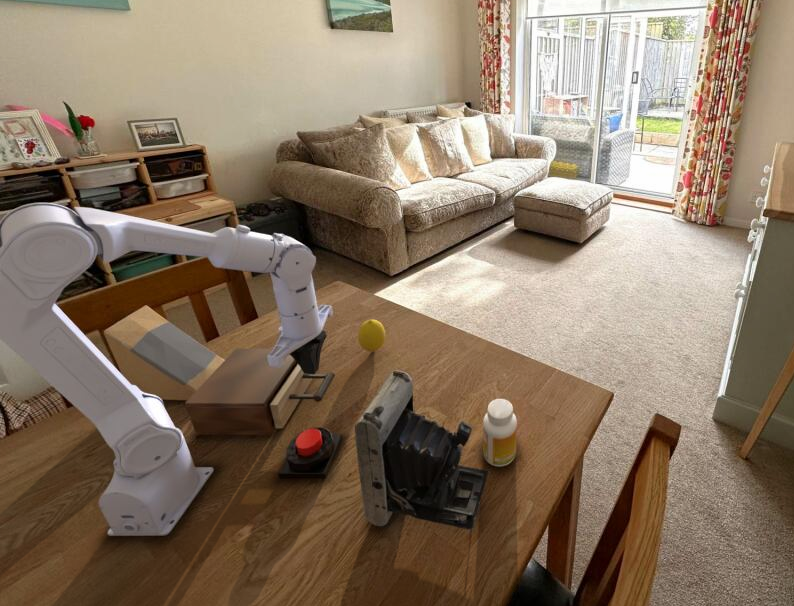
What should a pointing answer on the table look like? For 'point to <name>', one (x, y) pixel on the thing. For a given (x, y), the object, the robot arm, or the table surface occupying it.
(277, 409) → the wooden drawer
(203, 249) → the robot arm
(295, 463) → the black button housing
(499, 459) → the supplement bottle
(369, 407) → the vintage camera
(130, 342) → the sandwich container
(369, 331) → the lemon
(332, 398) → the table surface
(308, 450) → the release button
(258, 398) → the wooden drawer cabinet
